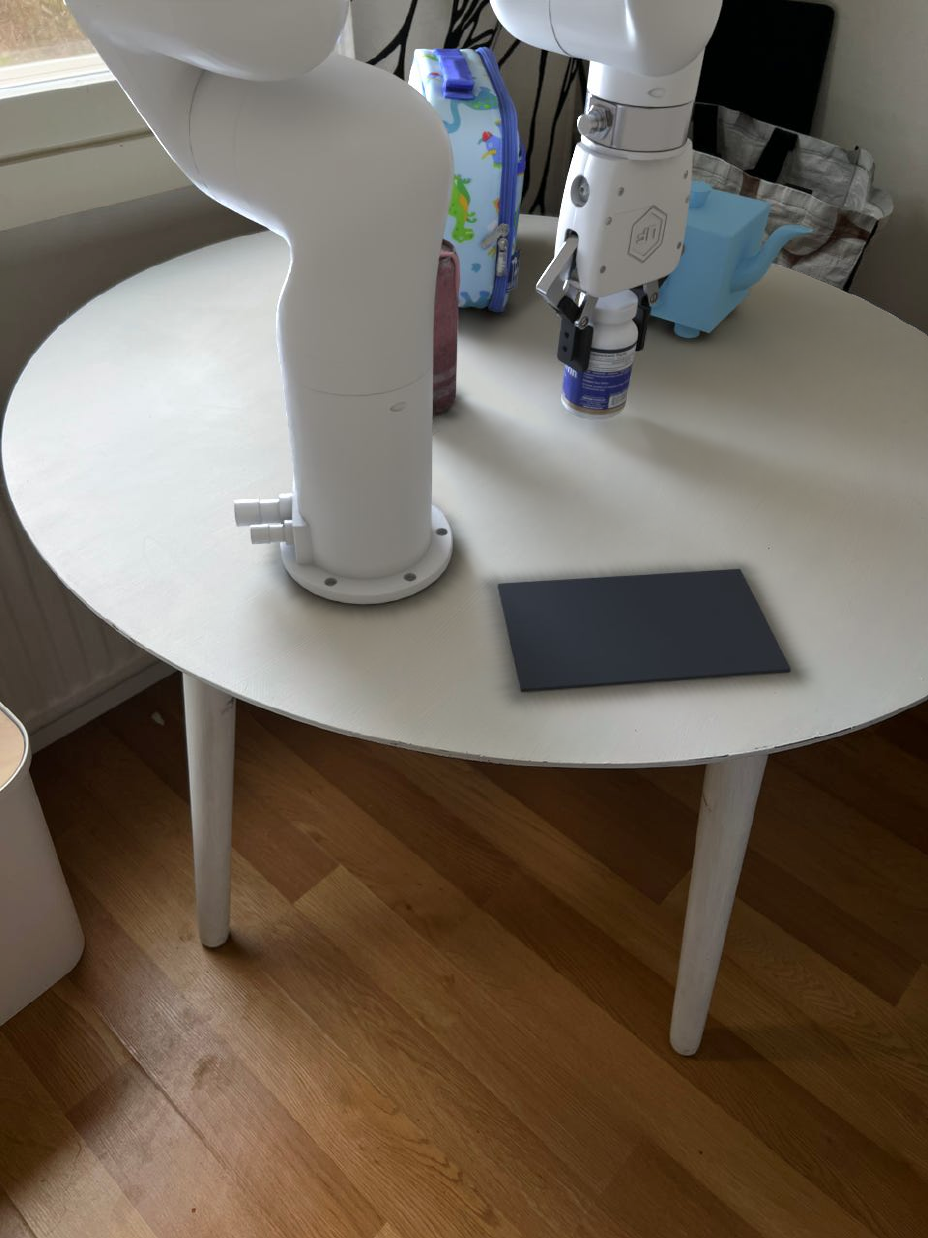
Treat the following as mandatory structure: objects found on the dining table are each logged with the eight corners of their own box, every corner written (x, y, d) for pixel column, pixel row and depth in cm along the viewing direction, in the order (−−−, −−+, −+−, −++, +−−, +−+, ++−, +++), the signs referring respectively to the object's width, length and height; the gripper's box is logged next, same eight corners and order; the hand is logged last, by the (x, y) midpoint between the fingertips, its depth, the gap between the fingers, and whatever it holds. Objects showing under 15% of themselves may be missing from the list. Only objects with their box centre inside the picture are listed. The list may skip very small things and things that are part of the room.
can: (450, 424, 80) (454, 267, 70) (380, 414, 81) (374, 258, 71) (464, 389, 84) (469, 236, 75) (397, 380, 85) (394, 228, 75)
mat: (521, 692, 58) (521, 689, 58) (497, 586, 65) (497, 583, 65) (790, 672, 60) (791, 668, 60) (739, 571, 67) (740, 568, 67)
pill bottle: (558, 386, 83) (572, 278, 76) (621, 389, 83) (640, 282, 76) (562, 420, 79) (576, 310, 72) (628, 423, 79) (649, 313, 72)
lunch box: (521, 329, 93) (540, 101, 78) (415, 332, 92) (414, 100, 77) (488, 227, 111) (498, 26, 97) (399, 228, 110) (396, 25, 96)
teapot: (585, 322, 95) (602, 192, 86) (650, 271, 104) (671, 149, 95) (751, 376, 88) (789, 241, 79) (804, 315, 97) (843, 188, 88)
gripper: (583, 157, 59) (553, 404, 71) (756, 117, 67) (701, 346, 79) (509, 125, 63) (493, 364, 76) (680, 91, 71) (639, 312, 84)
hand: (600, 353), depth 77 cm, fingers closed on pill bottle, 5 cm apart
